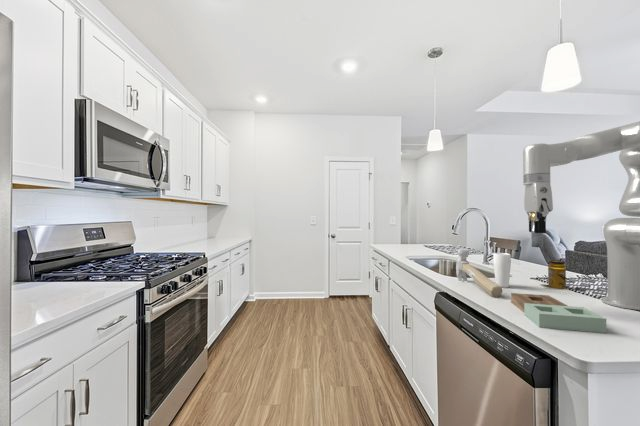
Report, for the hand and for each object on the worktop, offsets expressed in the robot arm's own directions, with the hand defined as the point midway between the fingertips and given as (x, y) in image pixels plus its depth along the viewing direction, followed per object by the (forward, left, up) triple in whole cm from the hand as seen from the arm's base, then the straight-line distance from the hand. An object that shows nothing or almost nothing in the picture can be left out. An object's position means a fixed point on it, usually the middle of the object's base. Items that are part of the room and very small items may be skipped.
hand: (537, 231), depth 98 cm
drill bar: (0, 0, -5) cm, 5 cm away
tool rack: (-1, +13, -27) cm, 30 cm away
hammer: (+13, -25, -27) cm, 40 cm away
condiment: (-21, -35, -27) cm, 49 cm away
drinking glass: (+1, -31, -27) cm, 41 cm away
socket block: (0, 0, -27) cm, 27 cm away
